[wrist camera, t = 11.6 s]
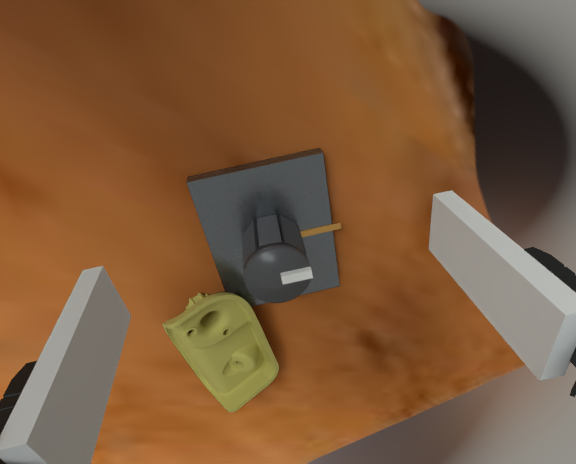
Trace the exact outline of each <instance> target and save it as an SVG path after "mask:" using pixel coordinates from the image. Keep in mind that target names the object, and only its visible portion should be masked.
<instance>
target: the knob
mask: <svg viewBox="0 0 576 464" xmlns="http://www.w3.org/2000/svg"><path fill="white" fill-rule="evenodd" d="M256 219H257V222H255V221H252V222H251V224H250V225H249V227H248V228H247V229H246V231H245V232H244V234H243V235H242V262H243V271H244V282H245V286H246V288H247V290H248V291H249V292H250V294H251V295H253V296H254V297H255V298H257V299H259V300H261V301H264V302H269V303H281V302H286V301H289V300H292V299H294V298H296V297H297V296H299V295H300V294H301V293H303V292H304V291H305V289H306V288H307V287H308V285H309V283H310V280H311V278H313V276H312V270H311V267H310V264H309V261H308V258H307V253H306V250H305V246H304V243H303V240H302V236H301V233H300V229H299V226H298V227H297V224H296V223H295V222H293V221H291V220H289V219H287V218H286V217H284V216H282V215H280V216H279V217H278V218H277V215H276V214H274V215H269V216H265V217H260V218H256Z"/></svg>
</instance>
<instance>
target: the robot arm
mask: <svg viewBox="0 0 576 464" xmlns="http://www.w3.org/2000/svg"><path fill="white" fill-rule="evenodd" d="M429 250H430V251H431V253H432V254H433V255H434V256H435V257H436V258H437V260H438V261H439V262H440V263H441V264H442V266H443V267H444V268H445V269H446V270H447V272H448V273H449V274H450V275H451V276H452V278H453V279H454V280H455V281H456V282H457V284H458V285H459V286H460V287H461V288H462V290H463V291H464V292H465V293H466V294H467V295H468V297H469V298H470V299H471V300H472V301H473V303H474V304H475V305H476V306H477V307H478V309H479V310H480V311H481V312H482V313H483V315H484V316H485V317H486V318H487V319H488V321H489V322H490V323H491V324H492V325H493V326H494V328H495V329H496V330H497V331H498V332H499V334H500V335H501V336H502V337H503V338H504V340H505V341H506V342H507V343H508V344H509V346H510V347H511V348H512V349H513V350H514V352H515V353H516V354H517V355H518V356H519V358H520V359H521V360H522V361H523V362H524V363H525V365H526V366H527V367H528V368H529V369H530V371H531V372H532V373H533V374H534V375H535V377H536V378H537V379H538V380H539V381H542V380H546V379H550V378H554V377H558V376H563V375H564V374H565V372H566V370H567V368H568V366H569V364H570V362H571V363H572V364H573V365H574V366H575V367H576V275H575V273H574V272H572V271H571V270H570V269H568V268H567V267H564V265H563V264H562V263H561V262H559V261H558V260H557V259H556V258H554V257H553V256H552V255H550V254H548V253H546V252H543V251H541V250H539V249H537V248H534V247H531V248H527V249H522V248H521V247H520V246H519V245H517V244H516V243H515V242H514V241H512V240H511V239H510V238H509V237H508V236H506V235H505V234H504V233H503V232H502V231H500V230H499V229H498V228H497V227H496V226H494V225H493V224H492V223H491V222H489V221H488V220H487V219H486V218H485V217H483V216H482V215H481V214H480V213H479V212H477V211H476V210H475V209H474V208H472V207H471V206H470V205H469V204H468V203H466V202H465V201H464V200H463V199H462V198H460V197H459V196H458V195H457V194H455V193H454V192H453V191H452V190H451V191H446V192H442V193H437V194H433V204H432V216H431V228H430V240H429ZM130 319H131V315H130V313H129V311H128V309H127V308H126V306H125V304H124V302H123V301H122V299H121V297H120V295H119V293H118V292H117V290H116V288H115V286H114V285H113V283H112V281H111V279H110V277H109V276H108V274H107V272H106V270H105V269H104V267H103V266H100V267H96V268H91V269H86V270H83V271H82V273H81V275H80V277H79V279H78V281H77V283H76V285H75V287H74V289H73V291H72V293H71V295H70V297H69V299H68V301H67V303H66V305H65V307H64V309H63V311H62V313H61V315H60V317H59V319H58V321H57V323H56V325H55V327H54V329H53V331H52V333H51V335H50V337H49V339H48V341H47V343H46V345H45V347H44V349H43V351H42V353H41V355H40V357H39V359H38V361H34V362H30V363H26V364H25V366H24V367H23V368H22V369H21V370H20V371H19V372H18V373H17V374H16V375H15V377H14V378H13V379H12V380H11V382H10V384H9V386H8V388H7V390H6V391H5V393H4V395H3V397H4V398H3V399H1V401H0V464H91V460H92V457H93V453H94V449H95V446H96V442H97V439H98V435H99V431H100V428H101V424H102V420H103V417H104V413H105V409H106V406H107V402H108V399H109V395H110V391H111V388H112V384H113V380H114V377H115V373H116V369H117V366H118V362H119V359H120V355H121V351H122V348H123V344H124V340H125V337H126V333H127V329H128V326H129V322H130ZM575 395H576V381H575V384H574V386H573V388H572V390H571V393H570V396H573V397H575Z"/></svg>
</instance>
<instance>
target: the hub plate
mask: <svg viewBox="0 0 576 464" xmlns="http://www.w3.org/2000/svg"><path fill="white" fill-rule="evenodd" d="M187 185H188V188H189V191H190V193H191V196H192V199H193V202H194V205H195V208H196V210H197V213H198V216H199V219H200V222H201V224H202V227H203V230H204V233H205V236H206V239H207V241H208V244H209V247H210V250H211V253H212V256H213V258H214V261H215V264H216V267H217V270H218V273H219V275H220V278H221V281H222V284H223V287H224V289H225V292H228V293H233V294H236V295H238V296H240V297H242V298H243V299H244V300H245V301H247V302H248V304H249V305H250V306H256V305H260V304H264V303H268V302H264V301H261V300H259V299H257V298H255V297H254V296H253V295H251V294H250V292H249V291H248V290H247V288H246V286H245V282H244V271H243V262H242V235H243V234H244V232H245V231H246V229H247V228H248V227H249V225H250V224H251V222H252V221H255V222H257V219H256V218H260V217H265V216H269V215H274V214H276V215H277V218H278V217H279V216H280V215H282V216H284V217H286V218H287V219H289V220H291V221H293V222H295V223H296V224H297V227H298V226H299V229H300V233H301V236H302V240H303V243H304V246H305V250H306V253H307V258H308V261H309V264H310V267H311V270H312V276H313V278H311V280H310V283H309V285H308V287H307V288H306V289H305V291H304V292H303V293H301V294H300V295H303V294H307V293H312V292H316V291H320V290H325V289H329V288H333V287H337V286H340V285H339V277H338V269H337V260H336V252H335V244H334V236H333V230H337V229H341V222H339V223H335V224H332V220H331V212H330V204H329V196H328V188H327V180H326V172H325V164H324V156H323V152H322V150H321V149H320V148H317V149H313V150H308V151H303V152H299V153H294V154H290V155H285V156H281V157H276V158H271V159H267V160H262V161H258V162H253V163H249V164H244V165H239V166H235V167H230V168H226V169H221V170H217V171H212V172H207V173H203V174H198V175H194V176H189V177H188V179H187Z"/></svg>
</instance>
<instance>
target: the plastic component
mask: <svg viewBox="0 0 576 464" xmlns="http://www.w3.org/2000/svg"><path fill="white" fill-rule="evenodd" d="M163 327H164V329H165V331H166V333H167V334H168V336H169V337H170V339H171V340H172V342H173V343H174V345H175V346H176V348H177V349H178V350H179V352H180V353H181V354H182V356H183V357H184V359H185V360H186V361H187V363H188V364H189V365H190V367H191V368H192V370H193V371H194V372H195V374H196V375H197V376H198V378H199V379H200V380H201V381H202V383H203V384H204V385H205V386H206V388H207V389H208V390H209V391H210V392H211V393H212V394H213V396H214V397H215V398H216V399H217V400H218V401H219V402H220V403H221V405H222V406H223V407H224V408H225V409H226V410H227V411H228V412H235V411H237V410H238V409H239V408H241V407H242V406H243V405H244V404H246V403H247V402H248V401H249V400H251V399H252V398H253V397H254V396H256V395H257V394H258V393H259V392H260V391H262V390H263V389H264V388H265V387H267V386H268V385H269V384H270V383H271V382H272V381H273V380H274V379H275V377H276V376H277V374H278V371H279V365H278V363H277V360H276V358H275V356H274V354H273V352H272V349H271V347H270V345H269V343H268V341H267V339H266V336H265V334H264V332H263V330H262V328H261V325H260V323H259V321H258V319H257V317H256V315H255V313H254V311H253V309H252V308H251V306H250V305H249V304H248V302H247V301H245V300H244V299H243V298H242V297H240V296H238V295H236V294H233V293H228V292H221V293H215V294H212V295H209V294H207V293H206V294H205V295H203V294H201V293H198V295H197V296H195V297H193V298H190V299H189V304H188V306H186V310H185V311H184V312H183V313H181V314H180V315H178V316H177V317H175V318H173V319H169V320H168V321H166V322H165V323H163ZM190 330H192V332H190V333H188V332H189V331H190Z"/></svg>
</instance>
